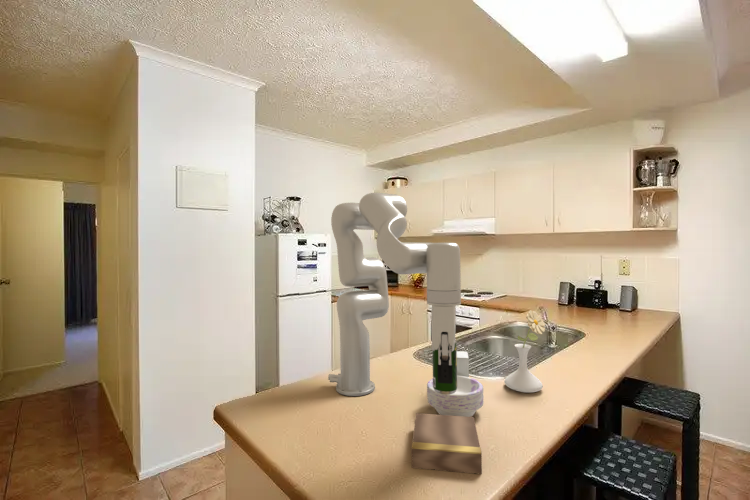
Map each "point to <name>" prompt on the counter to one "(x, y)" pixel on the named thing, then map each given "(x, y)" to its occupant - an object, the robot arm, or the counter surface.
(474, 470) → the gold striped gift box
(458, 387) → the paper bowls
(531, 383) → the flower in vase
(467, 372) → the supplement box
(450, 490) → the counter surface
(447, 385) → the beer can
